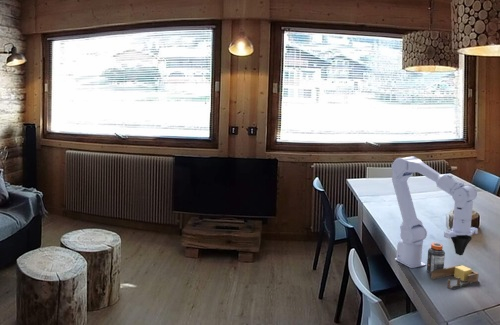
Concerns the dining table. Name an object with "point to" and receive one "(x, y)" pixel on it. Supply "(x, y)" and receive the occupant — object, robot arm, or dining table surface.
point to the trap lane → (451, 271)
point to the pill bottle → (435, 257)
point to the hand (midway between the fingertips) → (459, 254)
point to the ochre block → (462, 272)
